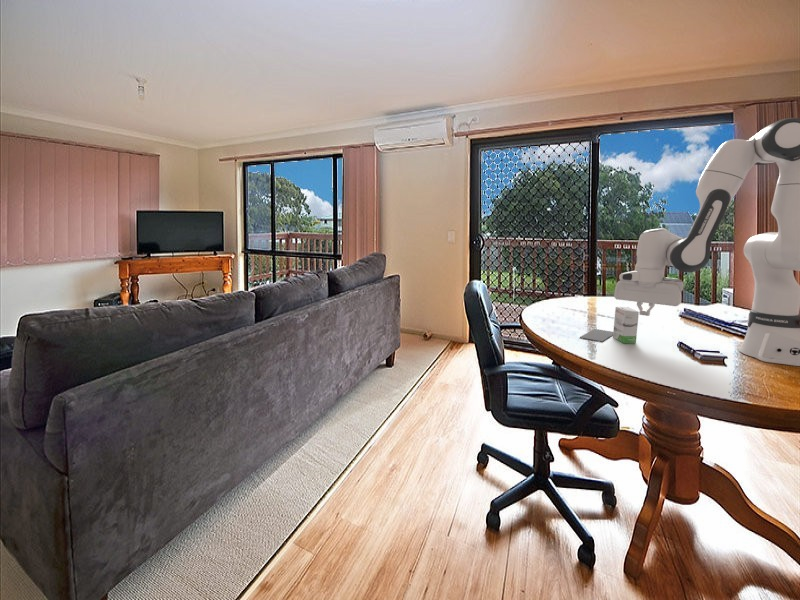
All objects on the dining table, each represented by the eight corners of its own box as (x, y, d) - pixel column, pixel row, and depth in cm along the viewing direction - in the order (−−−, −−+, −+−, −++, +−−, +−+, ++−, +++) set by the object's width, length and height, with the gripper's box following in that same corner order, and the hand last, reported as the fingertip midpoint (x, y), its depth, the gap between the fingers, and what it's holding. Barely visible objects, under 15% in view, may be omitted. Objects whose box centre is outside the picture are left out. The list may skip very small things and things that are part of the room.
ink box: (636, 343, 146) (640, 311, 144) (622, 343, 147) (625, 311, 144) (625, 337, 155) (628, 306, 152) (612, 336, 155) (614, 306, 153)
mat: (616, 333, 160) (616, 332, 160) (602, 342, 148) (602, 341, 148) (594, 329, 165) (594, 328, 165) (579, 338, 154) (579, 337, 154)
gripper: (686, 277, 137) (681, 318, 140) (619, 272, 151) (616, 309, 154) (682, 279, 133) (677, 321, 135) (614, 274, 147) (610, 312, 149)
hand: (644, 315), depth 145 cm, fingers closed
